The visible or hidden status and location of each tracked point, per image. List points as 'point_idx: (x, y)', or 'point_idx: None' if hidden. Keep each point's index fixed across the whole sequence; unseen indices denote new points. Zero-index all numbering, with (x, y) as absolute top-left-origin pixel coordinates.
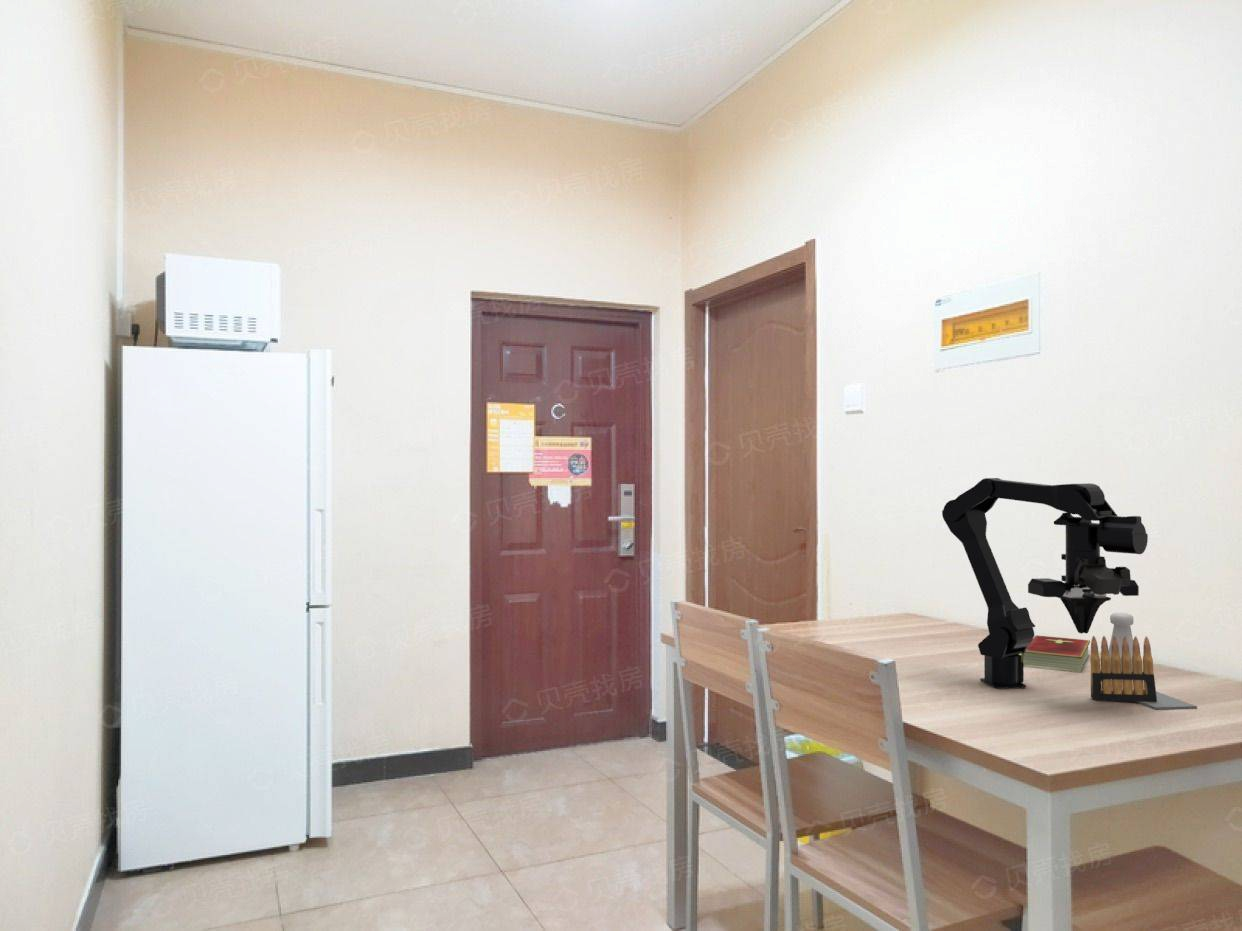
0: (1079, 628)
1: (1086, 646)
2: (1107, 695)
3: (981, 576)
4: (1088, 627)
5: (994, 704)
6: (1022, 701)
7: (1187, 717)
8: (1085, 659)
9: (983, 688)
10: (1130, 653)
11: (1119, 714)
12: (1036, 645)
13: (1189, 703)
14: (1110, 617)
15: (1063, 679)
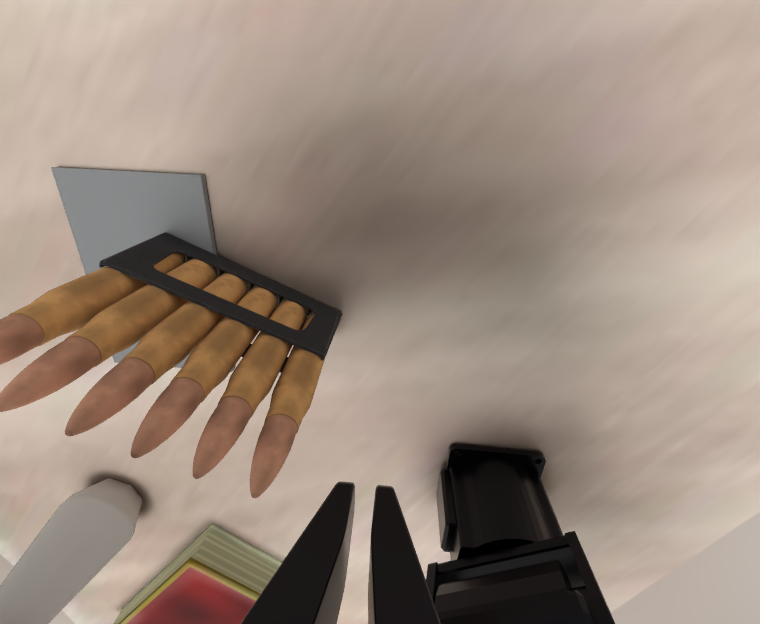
0: (403, 527)
1: (125, 620)
2: (299, 300)
3: None
4: (331, 517)
5: (698, 321)
6: (575, 335)
7: (142, 56)
8: (147, 586)
9: (571, 462)
10: (53, 534)
11: (369, 137)
12: None
13: (63, 202)
14: None
15: (291, 487)
